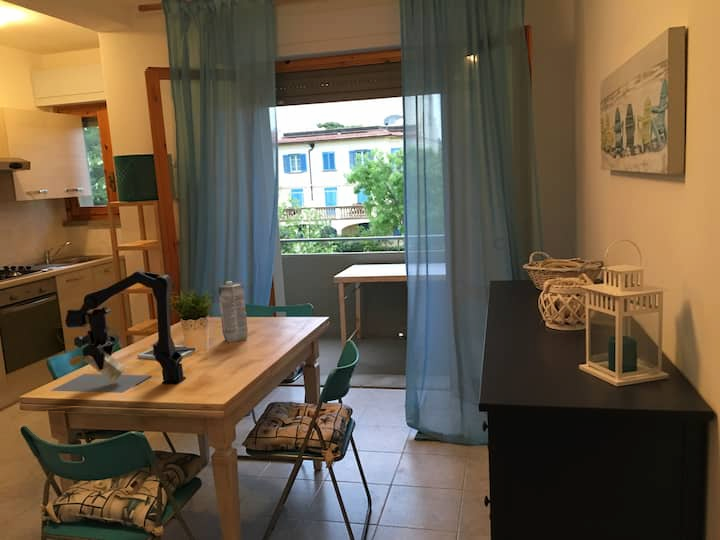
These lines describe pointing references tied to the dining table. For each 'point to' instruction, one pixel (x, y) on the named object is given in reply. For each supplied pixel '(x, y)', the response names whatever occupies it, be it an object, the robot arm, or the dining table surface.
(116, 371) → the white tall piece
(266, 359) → the dining table surface
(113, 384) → the rubber mat
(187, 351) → the picture frame
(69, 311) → the robot arm
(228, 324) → the juice carton
